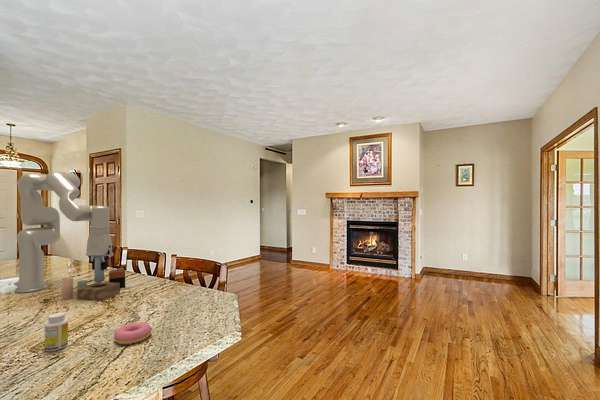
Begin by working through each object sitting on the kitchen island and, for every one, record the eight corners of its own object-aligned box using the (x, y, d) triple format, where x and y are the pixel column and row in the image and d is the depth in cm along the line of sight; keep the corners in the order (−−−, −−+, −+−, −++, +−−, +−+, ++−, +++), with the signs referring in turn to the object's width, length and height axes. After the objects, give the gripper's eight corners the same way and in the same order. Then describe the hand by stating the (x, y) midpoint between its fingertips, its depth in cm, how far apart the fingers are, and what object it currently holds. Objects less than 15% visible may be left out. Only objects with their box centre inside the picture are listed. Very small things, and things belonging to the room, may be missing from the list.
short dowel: (75, 294, 143) (75, 282, 143) (82, 291, 147) (82, 279, 147) (82, 294, 143) (82, 282, 143) (89, 292, 147) (89, 280, 147)
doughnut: (135, 348, 91) (136, 334, 91) (104, 345, 93) (105, 331, 93) (158, 333, 102) (158, 321, 102) (130, 330, 104) (130, 318, 104)
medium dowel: (59, 299, 135) (60, 280, 135) (67, 296, 139) (67, 277, 139) (67, 300, 135) (67, 280, 135) (75, 297, 139) (75, 278, 139)
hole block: (77, 299, 135) (77, 288, 135) (98, 291, 147) (98, 281, 147) (100, 300, 134) (100, 289, 134) (119, 292, 146) (119, 282, 146)
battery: (125, 287, 155) (125, 268, 155) (110, 289, 151) (110, 270, 151) (123, 285, 159) (123, 267, 159) (108, 288, 154) (108, 269, 154)
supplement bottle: (65, 341, 94) (65, 310, 95) (69, 347, 91) (70, 314, 91) (42, 348, 90) (43, 315, 90) (46, 354, 87) (46, 319, 87)
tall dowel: (92, 282, 139) (92, 252, 139) (98, 280, 143) (99, 251, 143) (99, 282, 138) (100, 253, 138) (106, 280, 142) (106, 251, 142)
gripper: (77, 232, 138) (77, 270, 138) (109, 232, 136) (109, 271, 136) (90, 230, 146) (90, 267, 145) (121, 231, 144) (121, 268, 143)
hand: (99, 269), depth 141 cm, fingers closed on tall dowel, 4 cm apart
